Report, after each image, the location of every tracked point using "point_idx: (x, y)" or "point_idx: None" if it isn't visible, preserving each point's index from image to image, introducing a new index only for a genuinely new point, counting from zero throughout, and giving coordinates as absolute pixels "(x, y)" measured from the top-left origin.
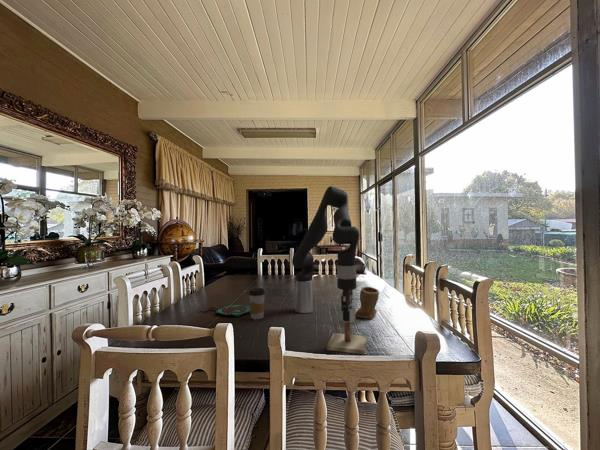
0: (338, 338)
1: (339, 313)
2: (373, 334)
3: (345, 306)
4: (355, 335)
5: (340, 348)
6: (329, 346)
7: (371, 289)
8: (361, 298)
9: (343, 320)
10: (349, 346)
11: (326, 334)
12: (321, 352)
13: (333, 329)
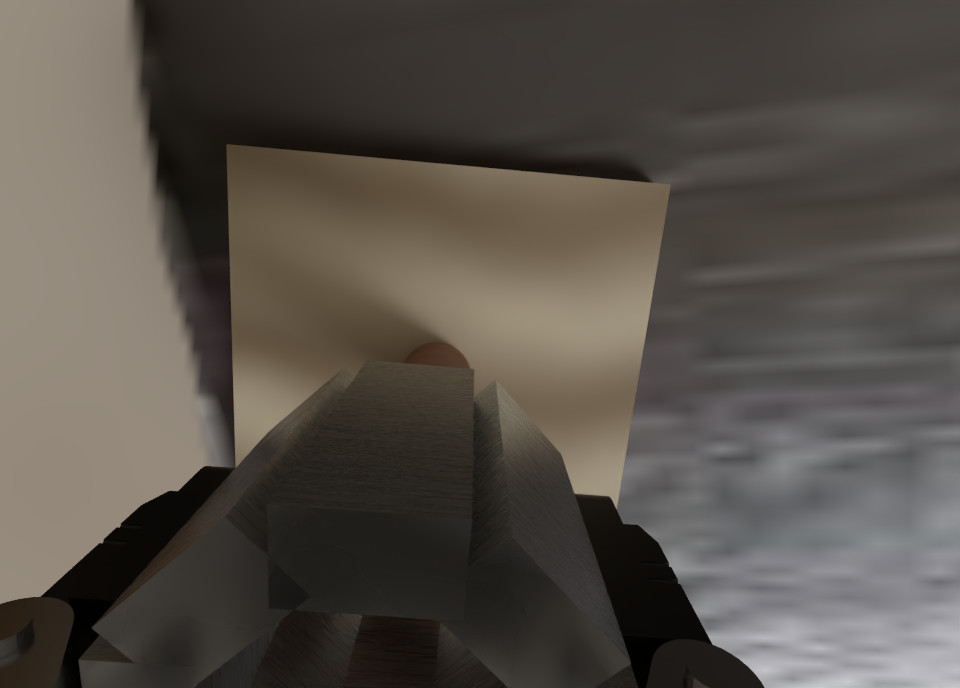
0: (489, 266)
1: (331, 414)
2: (754, 597)
3: (515, 680)
4: (615, 451)
5: (234, 309)
6: (228, 180)
7: None
8: None
9: (208, 468)
10: (288, 403)
11: (720, 80)
12: (165, 95)
13: (907, 155)
